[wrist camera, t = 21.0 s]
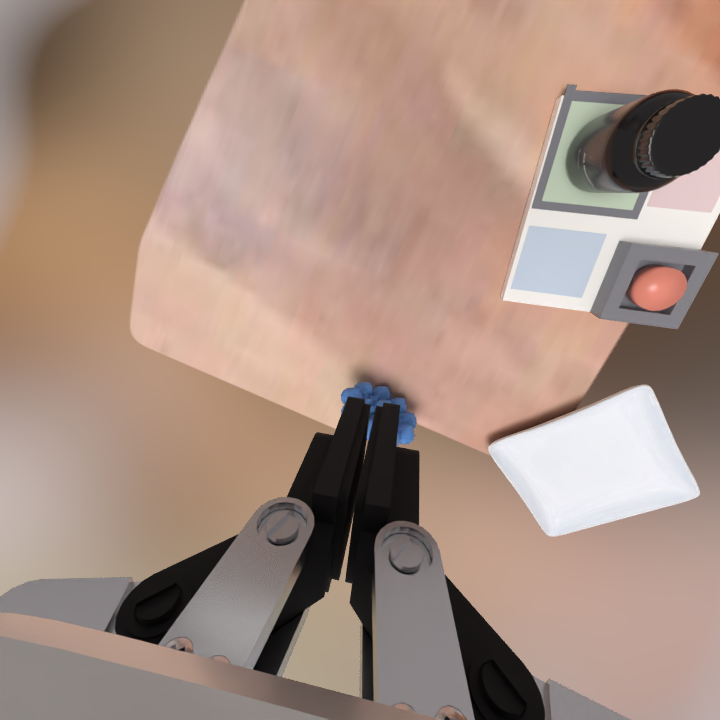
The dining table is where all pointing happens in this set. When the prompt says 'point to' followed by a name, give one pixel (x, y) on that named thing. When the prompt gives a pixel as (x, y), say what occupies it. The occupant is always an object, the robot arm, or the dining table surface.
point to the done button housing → (635, 257)
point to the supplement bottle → (646, 143)
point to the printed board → (596, 215)
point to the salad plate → (597, 463)
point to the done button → (656, 287)
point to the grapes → (377, 399)
